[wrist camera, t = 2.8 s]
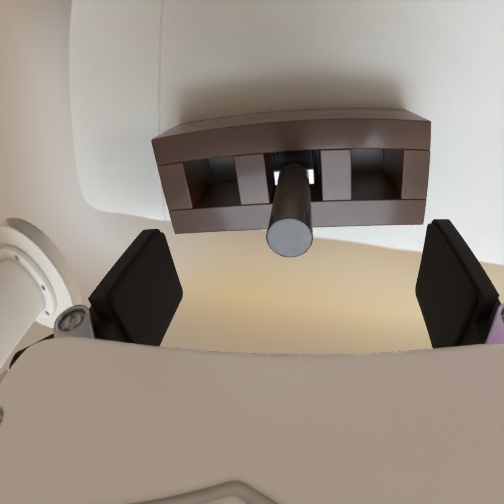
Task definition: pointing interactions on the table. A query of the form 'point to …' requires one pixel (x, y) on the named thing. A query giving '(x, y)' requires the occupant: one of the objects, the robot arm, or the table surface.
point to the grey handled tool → (291, 204)
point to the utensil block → (295, 139)
